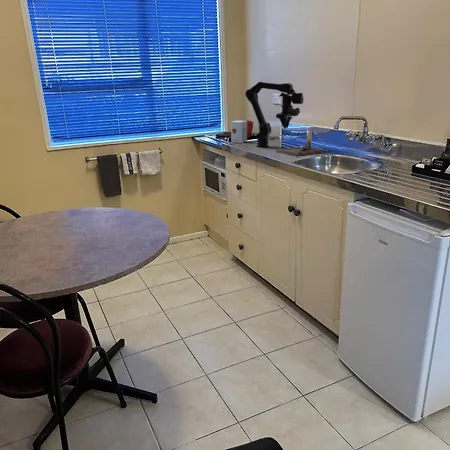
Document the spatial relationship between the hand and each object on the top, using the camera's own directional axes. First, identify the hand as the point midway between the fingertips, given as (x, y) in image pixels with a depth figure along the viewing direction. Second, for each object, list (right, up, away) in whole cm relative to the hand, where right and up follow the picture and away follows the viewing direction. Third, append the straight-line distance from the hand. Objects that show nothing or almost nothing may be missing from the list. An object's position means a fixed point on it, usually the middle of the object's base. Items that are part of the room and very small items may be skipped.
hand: (285, 128), depth 278 cm
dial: (+10, -16, -12) cm, 22 cm away
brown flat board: (+8, -17, -10) cm, 21 cm away
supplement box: (-29, -2, +34) cm, 45 cm away
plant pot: (-24, +7, +61) cm, 66 cm away
